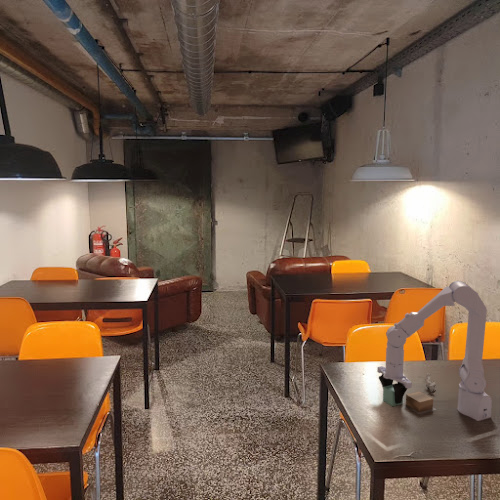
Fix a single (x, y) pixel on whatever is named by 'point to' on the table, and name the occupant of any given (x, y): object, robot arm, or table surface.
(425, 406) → the walnut base block
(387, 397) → the teal block
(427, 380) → the soldier figure
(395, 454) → the table surface
